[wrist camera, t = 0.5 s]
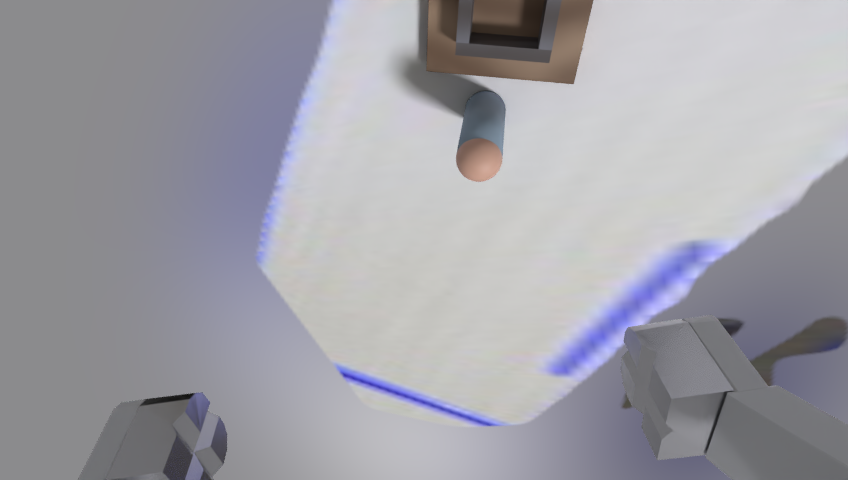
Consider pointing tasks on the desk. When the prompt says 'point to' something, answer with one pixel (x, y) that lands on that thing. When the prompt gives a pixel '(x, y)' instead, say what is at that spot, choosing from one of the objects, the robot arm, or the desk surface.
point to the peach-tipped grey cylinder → (481, 137)
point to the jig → (507, 38)
